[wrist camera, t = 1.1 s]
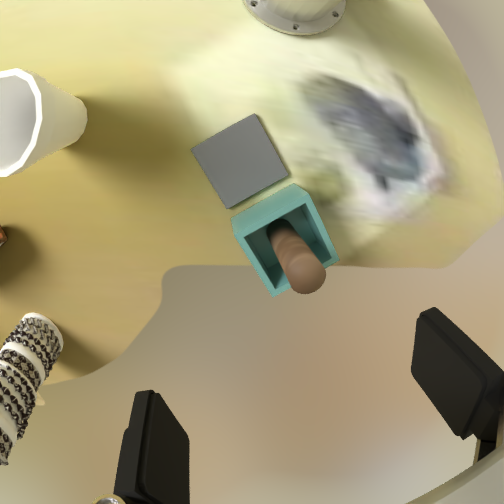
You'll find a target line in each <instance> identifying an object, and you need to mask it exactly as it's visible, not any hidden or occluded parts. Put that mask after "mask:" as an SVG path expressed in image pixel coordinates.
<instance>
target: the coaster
mask: <svg viewBox="0 0 504 504" xmlns="http://www.w3.org/2000/svg"><path fill="white" fill-rule="evenodd" d="M191 151H192V153H193V154H194V156H195V158H196V159H197V161H198V163H199V164H200V166H201V168H202V169H203V171H204V172H205V174H206V176H207V177H208V179H209V181H210V182H211V184H212V186H213V187H214V189H215V191H216V192H217V194H218V196H219V197H220V199H221V200H222V202H223V204H224V205H225V207H226V209H228V208H230V207H232V206H234V205H235V204H237V203H239V202H241V201H242V200H244V199H246V198H248V197H250V196H251V195H253V194H255V193H257V192H258V191H260V190H262V189H264V188H266V187H267V186H269V185H271V184H273V183H275V182H277V181H278V180H280V179H282V178H284V177H286V176H288V173H287V171H286V170H285V168H284V166H283V164H282V162H281V160H280V158H279V156H278V155H277V153H276V151H275V149H274V147H273V145H272V143H271V142H270V140H269V138H268V136H267V134H266V133H265V131H264V129H263V127H262V125H261V124H260V122H259V120H258V118H257V117H256V115H255V113H254V114H252V115H250V116H248V117H247V118H245V119H243V120H241V121H239V122H237V123H235V124H234V125H232V126H230V127H228V128H226V129H224V130H223V131H221V132H219V133H217V134H216V135H214V136H212V137H210V138H209V139H207V140H205V141H203V142H202V143H200V144H198V145H197V146H195V147H193V148H192V149H191Z"/></svg>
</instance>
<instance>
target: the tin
mask: <svg viewBox="0 0 504 504" xmlns="http://www.w3.org/2000/svg"><path fill="white" fill-rule="evenodd" d="M6 241H7V237H6V235H5V233H4V231H3V230H2V228H1V225H0V247H1V246H2V245H3V244H4V243H5V242H6Z"/></svg>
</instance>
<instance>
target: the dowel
mask: <svg viewBox="0 0 504 504" xmlns="http://www.w3.org/2000/svg"><path fill="white" fill-rule="evenodd" d="M266 234H267V237H268V239H269V241H270V244H271V246H272V248H273V250H274V252H275V254H276V256H277V258H278V260H279V262H280V264H281V267H282V269H283V271H284V273H285V275H286V277H287V279H288V281H289V283H290V286H291V287H292V289H293V290H294V291H296V292H298V293H301V294H309V293H312V292H315V291H316V290H318V289H319V288H320V287H321V286H322V284H323V283H324V281H325V277H326V271H325V268H324V266H323V265H322V264H321V262H320V261H319V260H318V258H317V257H316V256H315V254H314V253H313V252H312V251H311V249H310V248H309V247H308V245H307V244H306V243H305V241H304V240H303V239H302V238H301V236H300V235H299V234H298V232H297V231H296V230H295V229H294V227H293V226H292V225H291V224H290V222H289V221H287V220H285V219H275V220H274V221H272V222H271V223H270V224H269V225H268V227H267V230H266Z"/></svg>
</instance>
